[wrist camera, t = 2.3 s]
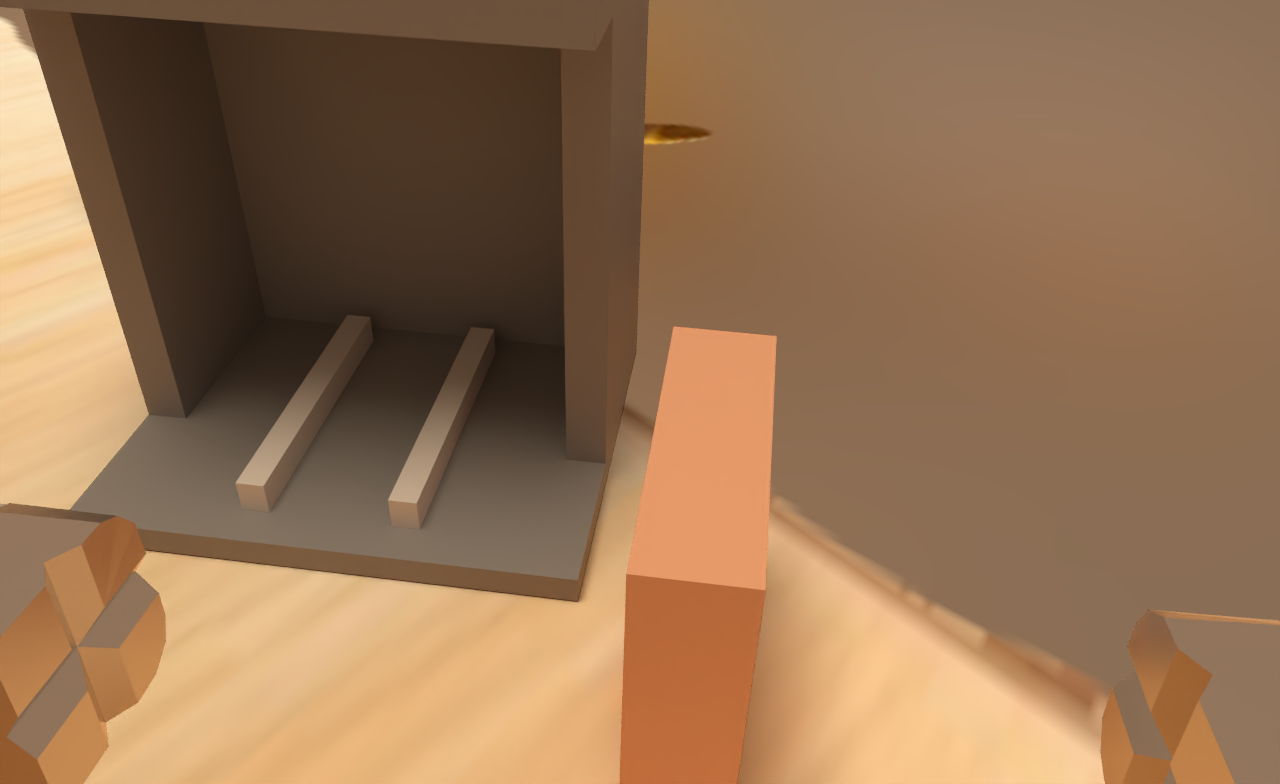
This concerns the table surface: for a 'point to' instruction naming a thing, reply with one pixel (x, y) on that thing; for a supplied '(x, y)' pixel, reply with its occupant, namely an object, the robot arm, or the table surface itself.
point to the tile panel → (699, 562)
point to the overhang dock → (363, 272)
